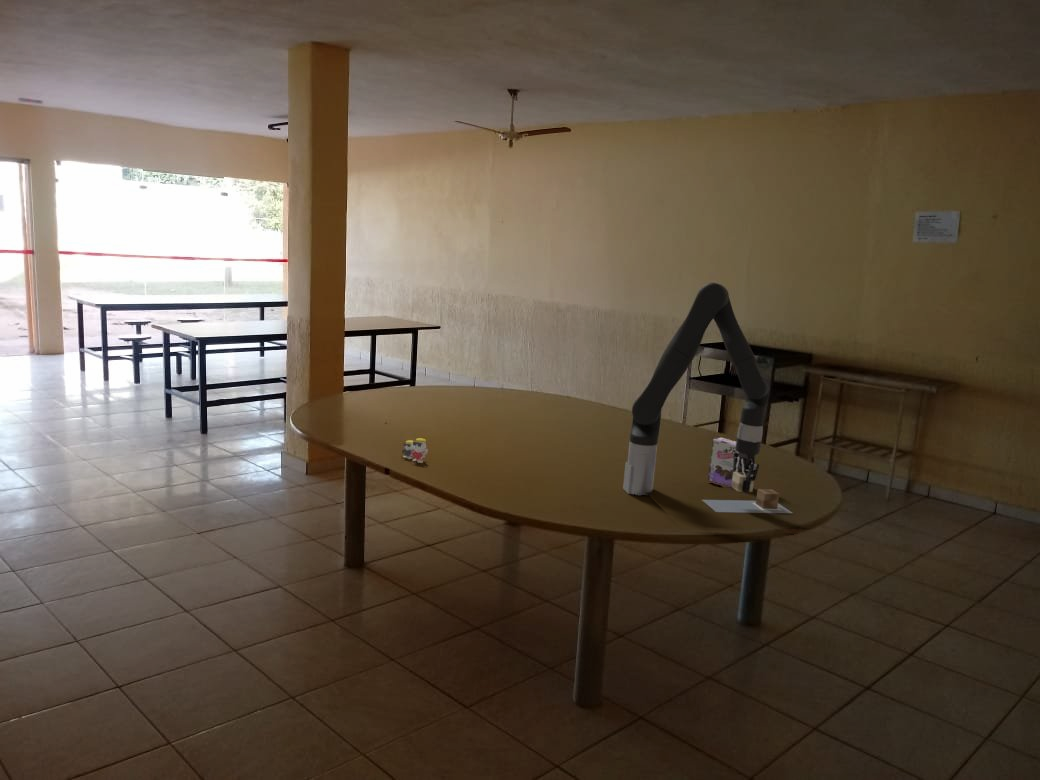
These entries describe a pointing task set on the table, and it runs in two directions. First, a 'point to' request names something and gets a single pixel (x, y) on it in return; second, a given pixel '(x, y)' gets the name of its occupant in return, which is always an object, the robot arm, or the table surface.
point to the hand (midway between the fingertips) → (741, 488)
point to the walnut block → (767, 498)
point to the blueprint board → (742, 506)
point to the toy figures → (415, 449)
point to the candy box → (722, 461)
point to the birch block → (739, 482)
